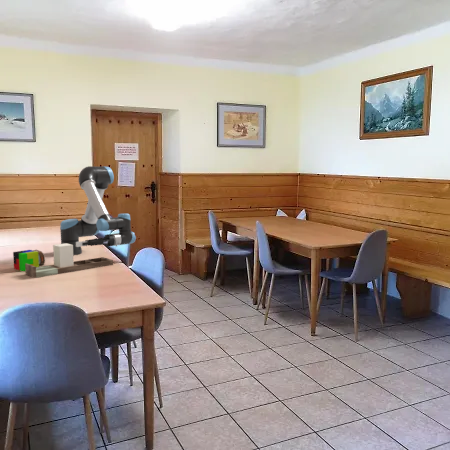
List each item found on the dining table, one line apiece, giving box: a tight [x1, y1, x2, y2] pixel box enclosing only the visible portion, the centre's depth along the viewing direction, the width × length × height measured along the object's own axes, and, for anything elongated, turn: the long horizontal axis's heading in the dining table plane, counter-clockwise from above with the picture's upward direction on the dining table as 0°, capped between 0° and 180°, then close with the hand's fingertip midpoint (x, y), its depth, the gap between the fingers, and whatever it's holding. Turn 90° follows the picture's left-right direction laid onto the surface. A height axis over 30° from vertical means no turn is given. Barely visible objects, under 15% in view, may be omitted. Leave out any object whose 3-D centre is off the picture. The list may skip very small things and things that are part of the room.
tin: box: [33, 249, 46, 266], centre depth 280 cm, size 15×3×8 cm, turn 44°
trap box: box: [25, 256, 114, 279], centre depth 266 cm, size 12×48×6 cm, turn 135°
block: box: [52, 243, 75, 268], centre depth 262 cm, size 8×8×12 cm
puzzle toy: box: [12, 249, 40, 272], centre depth 267 cm, size 10×10×10 cm
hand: (76, 244), depth 267 cm, fingers closed
